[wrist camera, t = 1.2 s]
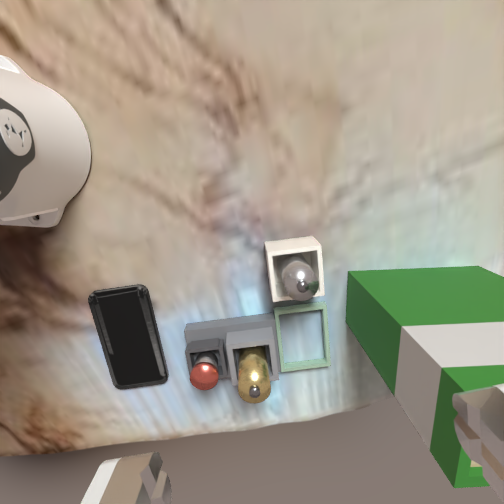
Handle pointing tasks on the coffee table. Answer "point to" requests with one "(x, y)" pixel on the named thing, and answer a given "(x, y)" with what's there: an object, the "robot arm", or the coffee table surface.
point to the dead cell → (297, 276)
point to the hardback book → (432, 346)
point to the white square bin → (287, 246)
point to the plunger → (205, 371)
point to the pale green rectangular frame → (326, 360)
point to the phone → (129, 336)
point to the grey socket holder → (233, 342)
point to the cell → (253, 374)
